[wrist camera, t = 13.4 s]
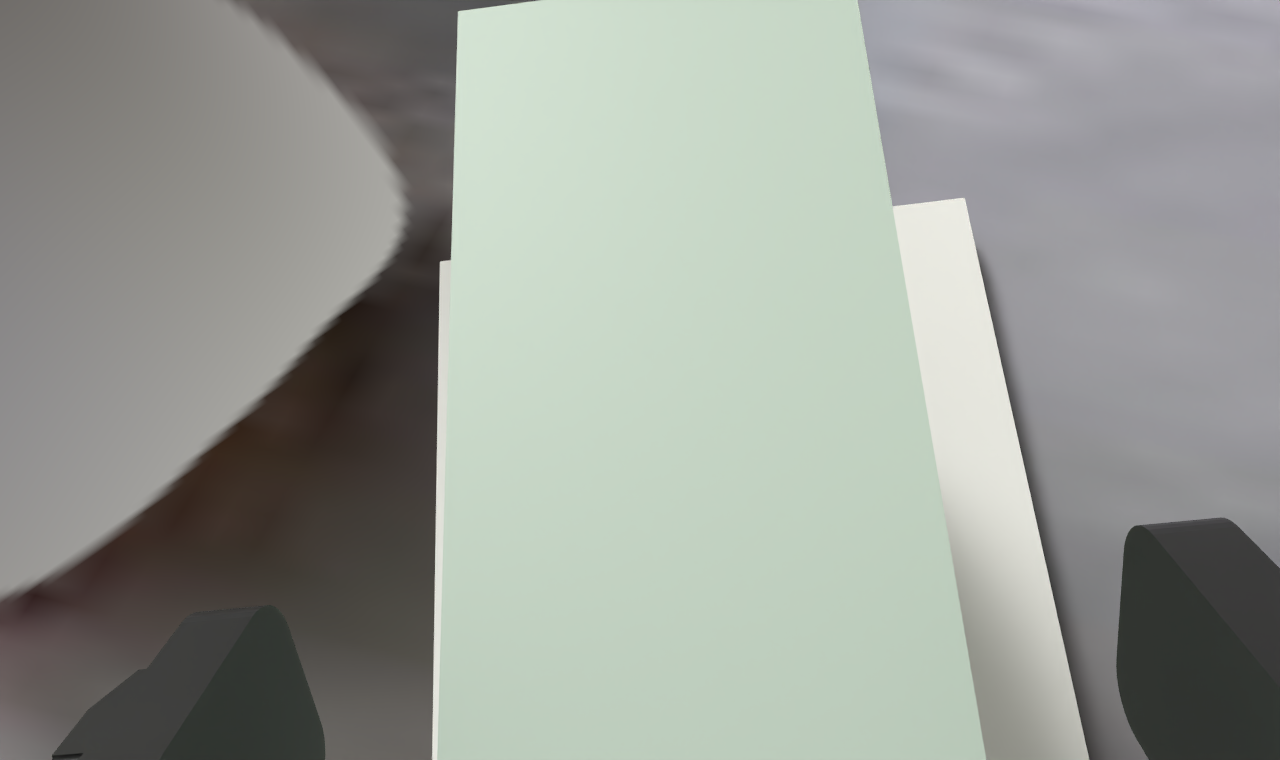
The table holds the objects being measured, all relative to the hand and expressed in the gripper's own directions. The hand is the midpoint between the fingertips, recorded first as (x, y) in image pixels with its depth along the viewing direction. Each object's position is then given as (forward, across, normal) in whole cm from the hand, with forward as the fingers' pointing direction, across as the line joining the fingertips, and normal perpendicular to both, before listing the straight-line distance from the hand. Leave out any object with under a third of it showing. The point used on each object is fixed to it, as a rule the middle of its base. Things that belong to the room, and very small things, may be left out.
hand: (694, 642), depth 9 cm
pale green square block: (+9, 0, +5) cm, 10 cm away
